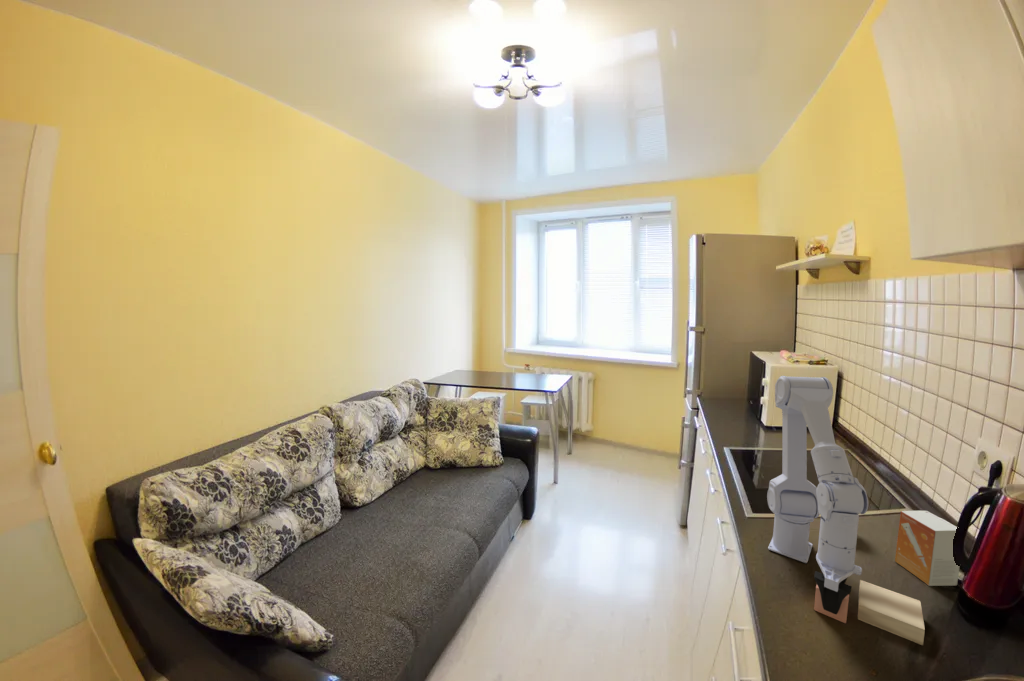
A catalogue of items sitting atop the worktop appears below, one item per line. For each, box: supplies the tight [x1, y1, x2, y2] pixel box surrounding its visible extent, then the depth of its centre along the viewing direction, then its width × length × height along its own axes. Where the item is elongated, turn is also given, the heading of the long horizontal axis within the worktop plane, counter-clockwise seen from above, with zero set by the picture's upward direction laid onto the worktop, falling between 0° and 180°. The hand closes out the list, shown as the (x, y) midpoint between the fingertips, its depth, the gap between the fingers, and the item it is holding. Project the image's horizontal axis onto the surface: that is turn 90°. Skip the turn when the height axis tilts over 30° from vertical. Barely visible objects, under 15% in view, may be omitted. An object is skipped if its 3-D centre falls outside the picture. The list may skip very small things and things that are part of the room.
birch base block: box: [857, 579, 926, 646], centre depth 79 cm, size 9×9×4 cm
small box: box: [894, 510, 960, 587], centre depth 90 cm, size 8×6×13 cm
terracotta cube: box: [813, 584, 850, 624], centre depth 81 cm, size 5×5×5 cm
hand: (831, 602), depth 81 cm, fingers closed on terracotta cube, 5 cm apart
